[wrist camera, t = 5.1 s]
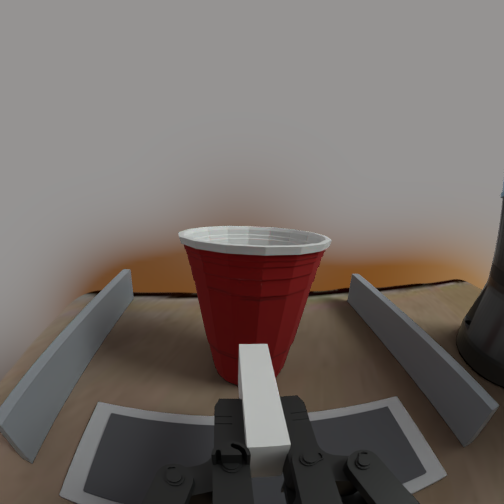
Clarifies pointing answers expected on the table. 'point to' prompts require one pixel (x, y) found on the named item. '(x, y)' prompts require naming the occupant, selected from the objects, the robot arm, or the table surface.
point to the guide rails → (121, 294)
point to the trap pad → (202, 443)
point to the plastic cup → (251, 287)
